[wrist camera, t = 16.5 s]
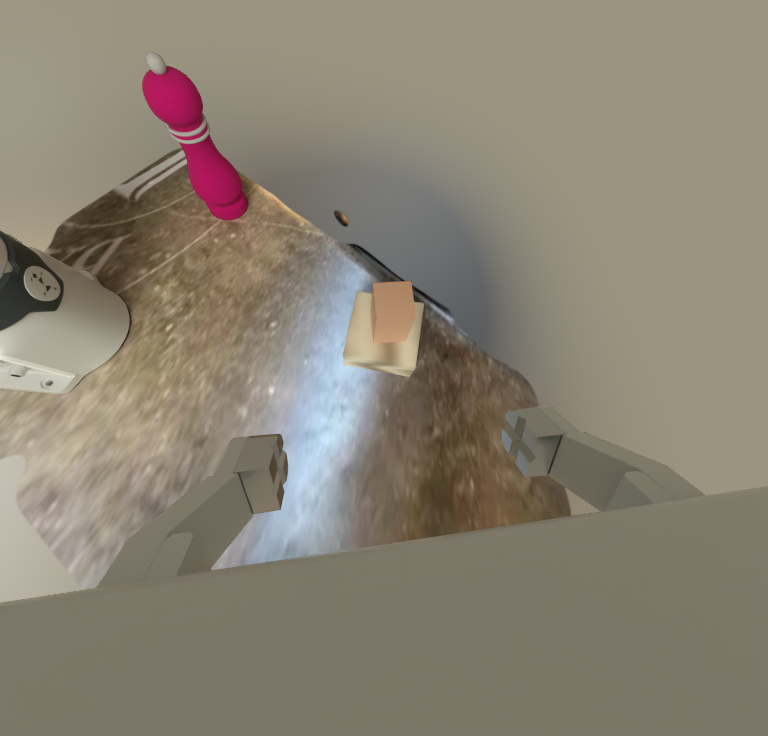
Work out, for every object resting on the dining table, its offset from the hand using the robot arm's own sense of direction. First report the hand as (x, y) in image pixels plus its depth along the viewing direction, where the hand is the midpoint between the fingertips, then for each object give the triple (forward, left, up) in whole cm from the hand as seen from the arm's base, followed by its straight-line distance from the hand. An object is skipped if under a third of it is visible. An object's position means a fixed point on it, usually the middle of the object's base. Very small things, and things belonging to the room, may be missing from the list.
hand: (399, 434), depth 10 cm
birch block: (+4, +16, -32) cm, 36 cm away
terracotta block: (+4, +16, -27) cm, 32 cm away
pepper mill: (-20, +43, -32) cm, 57 cm away
